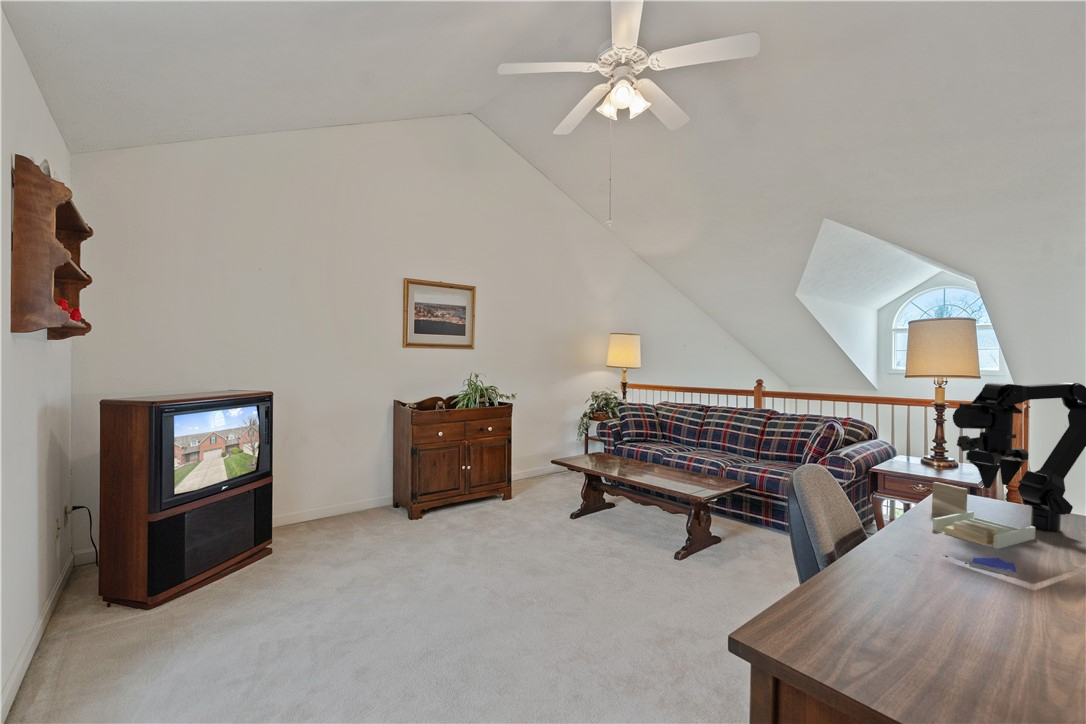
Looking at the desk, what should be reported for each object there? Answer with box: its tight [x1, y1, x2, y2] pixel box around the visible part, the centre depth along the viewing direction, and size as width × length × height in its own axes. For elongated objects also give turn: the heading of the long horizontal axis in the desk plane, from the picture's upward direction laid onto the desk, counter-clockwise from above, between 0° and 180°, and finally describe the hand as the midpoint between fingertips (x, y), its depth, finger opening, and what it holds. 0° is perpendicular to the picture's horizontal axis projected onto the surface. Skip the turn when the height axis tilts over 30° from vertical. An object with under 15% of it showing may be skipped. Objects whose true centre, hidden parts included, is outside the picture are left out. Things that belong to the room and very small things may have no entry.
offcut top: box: [954, 520, 997, 537], centre depth 130 cm, size 5×7×2 cm
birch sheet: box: [931, 481, 968, 517], centre depth 147 cm, size 1×8×10 cm, turn 25°
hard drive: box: [968, 557, 1018, 577], centre depth 115 cm, size 2×8×12 cm
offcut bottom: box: [943, 525, 994, 546], centre depth 130 cm, size 6×9×2 cm, turn 25°
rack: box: [932, 510, 1036, 550], centre depth 132 cm, size 18×14×4 cm
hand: (996, 486), depth 138 cm, fingers open, 9 cm apart
